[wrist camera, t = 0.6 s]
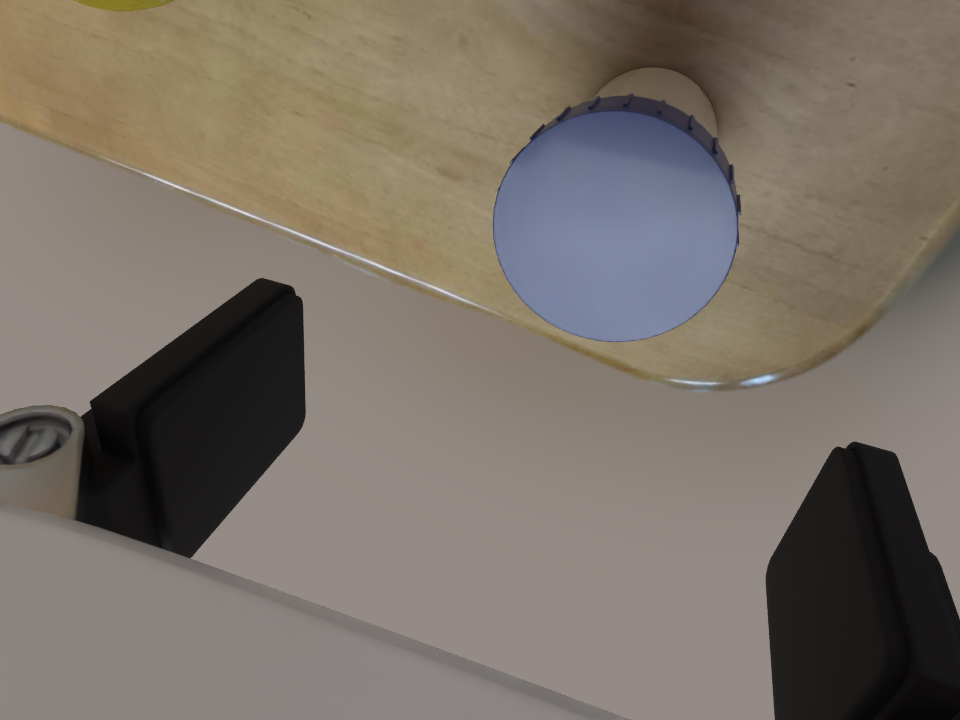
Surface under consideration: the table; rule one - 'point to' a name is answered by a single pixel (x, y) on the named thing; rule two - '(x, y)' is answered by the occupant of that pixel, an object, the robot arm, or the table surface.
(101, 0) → the lemon
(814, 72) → the table surface
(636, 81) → the cream canister
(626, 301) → the jar lid
